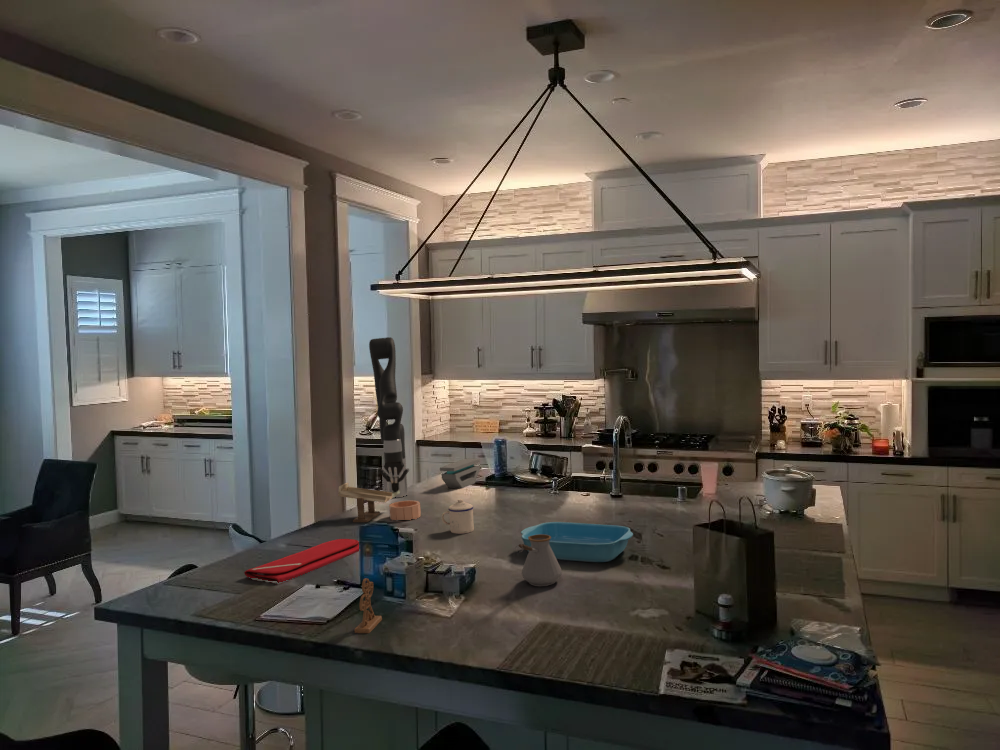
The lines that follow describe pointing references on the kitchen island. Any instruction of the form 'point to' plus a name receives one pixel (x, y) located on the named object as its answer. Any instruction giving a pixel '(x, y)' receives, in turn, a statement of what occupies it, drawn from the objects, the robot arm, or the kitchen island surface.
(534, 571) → the coffee pot
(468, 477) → the grey heat sealer
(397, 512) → the terracotta bowl
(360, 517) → the ramp stand
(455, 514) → the teacup with lid
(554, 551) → the casserole dish
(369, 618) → the wooden sculpture
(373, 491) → the ramp
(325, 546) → the dish drying mat
